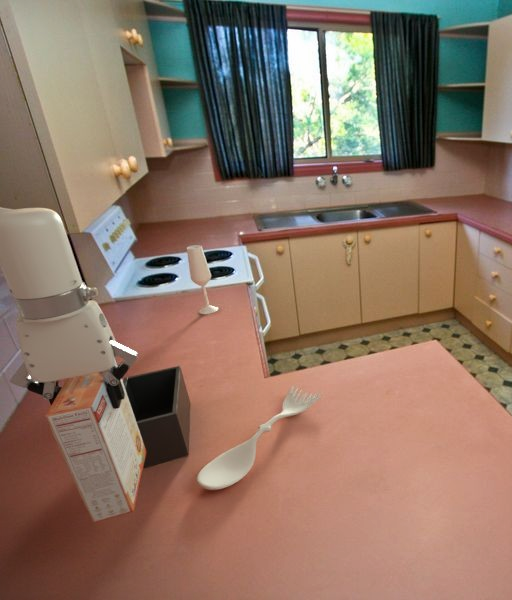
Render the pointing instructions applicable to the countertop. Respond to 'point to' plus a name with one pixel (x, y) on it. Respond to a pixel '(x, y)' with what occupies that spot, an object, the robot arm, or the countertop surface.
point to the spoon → (248, 447)
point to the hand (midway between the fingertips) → (92, 408)
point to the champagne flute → (200, 273)
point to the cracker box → (98, 445)
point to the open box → (161, 413)
